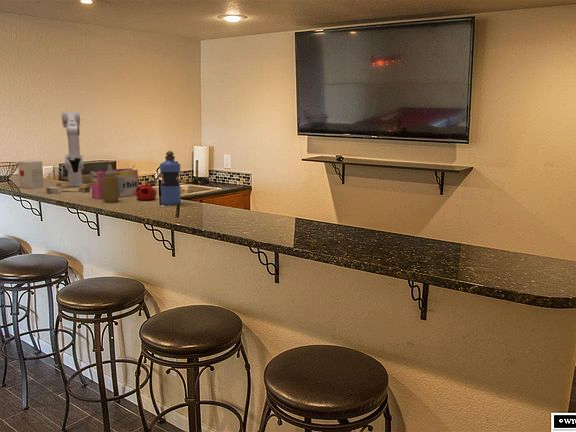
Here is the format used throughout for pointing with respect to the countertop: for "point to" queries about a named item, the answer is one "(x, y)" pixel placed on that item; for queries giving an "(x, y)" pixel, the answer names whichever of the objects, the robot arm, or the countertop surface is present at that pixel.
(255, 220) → the countertop surface
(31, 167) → the supplement box
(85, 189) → the stool seat
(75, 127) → the robot arm
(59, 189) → the folding leg
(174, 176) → the water bottle
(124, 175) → the gum box
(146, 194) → the pomegranate
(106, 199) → the squeeze bottle
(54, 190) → the stop bracket
